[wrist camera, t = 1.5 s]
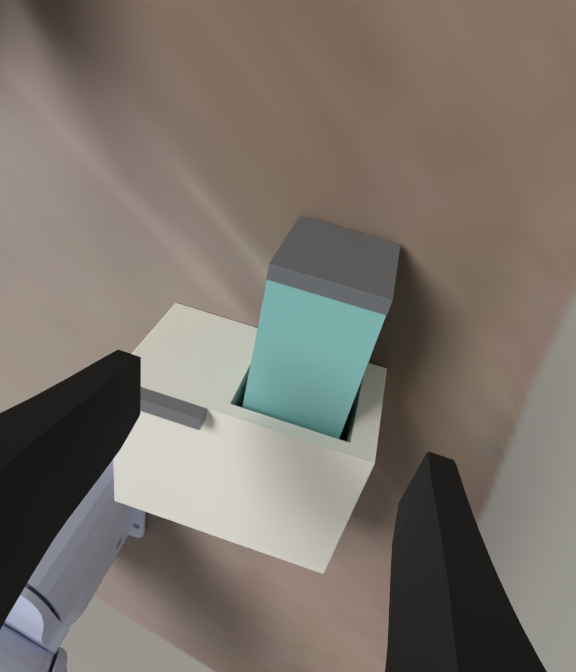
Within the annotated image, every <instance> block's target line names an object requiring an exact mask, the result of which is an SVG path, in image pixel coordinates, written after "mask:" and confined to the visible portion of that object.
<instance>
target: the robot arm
mask: <svg viewBox="0 0 576 672" xmlns="http://www.w3.org/2000/svg"><path fill="white" fill-rule="evenodd" d="M140 401H141V357H139V356H136V355H133V354H130V353H127V352H124V351H121V350H117V351H115V352H113V353H111V354H109V355H107V356H106V357H104V358H102V359H100V360H99V361H97V362H95V363H93V364H92V365H90V366H88V367H86V368H85V369H83V370H81V371H79V372H78V373H76V374H74V375H72V376H71V377H69V378H67V379H65V380H63V381H62V382H60V383H58V384H56V385H54V386H52V387H51V388H49V389H47V390H45V391H43V392H41V393H40V394H38V395H36V396H34V397H32V398H30V399H28V400H26V401H24V402H22V403H20V404H18V405H16V406H14V407H12V408H10V409H8V410H6V411H4V412H2V413H0V672H67V652H66V650H64V649H63V648H61V647H60V645H61V643H62V641H63V640H64V638H65V636H66V634H67V633H68V631H69V627H70V626H71V625H72V624H73V623H74V622H75V621H76V620H77V619H78V618H79V617H80V616H81V615H82V613H83V612H84V611H85V609H86V608H87V606H88V604H89V602H90V601H91V599H92V597H93V595H94V594H95V592H96V590H97V589H98V587H99V585H100V583H101V582H102V580H103V578H104V576H105V575H106V573H107V571H108V569H109V568H110V566H111V564H112V563H113V561H114V559H115V557H116V556H117V554H118V552H119V550H120V549H121V547H122V545H123V543H124V542H125V540H126V538H127V537H128V535H130V536H133V537H136V538H142V537H143V535H144V533H145V518H146V512H145V511H142V510H139V509H137V508H134V507H131V506H128V505H125V504H122V503H119V502H117V501H114V467H113V459H114V457H115V456H116V455H117V453H118V452H119V451H120V449H121V448H122V446H123V444H124V442H125V441H126V439H127V437H128V436H129V434H130V432H131V430H132V429H133V427H134V425H135V423H136V421H137V420H138V418H139V416H140ZM385 672H546V670H545V668H544V666H543V665H542V663H541V661H540V659H539V658H538V656H537V654H536V652H535V650H534V648H533V646H532V645H531V643H530V641H529V639H528V637H527V635H526V633H525V631H524V630H523V628H522V626H521V624H520V622H519V620H518V618H517V616H516V614H515V612H514V610H513V608H512V606H511V603H510V601H509V599H508V597H507V595H506V593H505V591H504V588H503V586H502V584H501V582H500V580H499V577H498V575H497V573H496V571H495V568H494V566H493V564H492V561H491V559H490V556H489V554H488V551H487V549H486V546H485V544H484V542H483V539H482V537H481V534H480V532H479V529H478V526H477V524H476V521H475V518H474V516H473V513H472V510H471V507H470V505H469V502H468V499H467V496H466V493H465V490H464V487H463V484H462V481H461V478H460V475H459V472H458V469H457V466H456V464H455V462H454V460H452V459H449V458H446V457H443V456H440V455H437V454H434V453H431V452H427V454H426V455H425V457H424V459H423V461H422V463H421V464H420V466H419V468H418V470H417V471H416V473H415V475H414V477H413V479H412V480H411V482H410V484H409V486H408V488H407V489H406V491H405V493H404V495H403V496H402V498H401V500H400V502H399V506H398V512H397V518H396V523H395V530H394V536H393V543H392V559H391V581H390V604H389V628H388V647H387V659H386V669H385Z"/></svg>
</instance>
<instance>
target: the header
mask: <svg viewBox="0 0 576 672" xmlns="http://www.w3.org/2000/svg"><path fill="white" fill-rule="evenodd" d="M257 329H258V328H255V327H252V326H249V325H245V324H242V323H239V322H236V321H233V320H229V319H226V318H223V317H220V316H216V315H213V314H210V313H207V312H204V311H200V310H197V309H194V308H191V307H187V306H184V305H181V304H178V303H175V304H174V305H173V306H172V308H171V309H170V310H169V311H168V312H167V313H166V314H165V316H164V317H163V318H162V319H161V320H160V321H159V323H158V324H157V325H156V326H155V327H154V328H153V329H152V331H151V332H150V333H149V334H148V335H147V336H146V337H145V339H144V340H143V341H142V342H141V343H140V344H139V346H138V347H137V348H136V349H135V350H134V351H133V352H132V354H133V355H136V356H139V357H141V401H140V416H139V418H138V420H137V421H136V423H135V425H134V427H133V429H132V430H131V432H130V434H129V436H128V437H127V439H126V441H125V442H124V444H123V446H122V448H121V449H120V451H119V452H118V453H117V455H116V456H115V457H114V459H113V467H114V501H117V502H119V503H122V504H125V505H128V506H131V507H134V508H137V509H139V510H142V511H145V512H148V513H151V514H154V515H156V516H159V517H162V518H165V519H168V520H171V521H174V522H176V523H179V524H182V525H185V526H188V527H191V528H194V529H196V530H199V531H202V532H205V533H208V534H211V535H213V536H216V537H219V538H222V539H225V540H228V541H231V542H233V543H236V544H239V545H242V546H245V547H248V548H251V549H253V550H256V551H259V552H262V553H265V554H268V555H271V556H273V557H276V558H279V559H282V560H285V561H288V562H290V563H293V564H296V565H299V566H302V567H305V568H308V569H310V570H313V571H316V572H319V573H322V574H324V571H325V569H326V567H327V565H328V563H329V561H330V559H331V556H332V554H333V552H334V550H335V548H336V546H337V544H338V541H339V539H340V537H341V535H342V533H343V531H344V529H345V526H346V524H347V522H348V520H349V518H350V516H351V514H352V511H353V509H354V507H355V505H356V503H357V501H358V498H359V496H360V494H361V492H362V490H363V488H364V486H365V483H366V481H367V479H368V477H369V475H370V473H371V471H372V468H373V466H374V464H375V458H376V450H377V443H378V435H379V427H380V419H381V412H382V404H383V396H384V388H385V381H386V373H387V368H384V367H381V366H378V365H374V364H371V363H368V364H367V367H366V370H365V372H364V375H363V378H362V380H361V383H360V385H359V388H358V391H357V393H356V396H355V399H354V401H353V404H352V406H351V409H350V412H349V414H348V417H347V419H346V422H345V425H344V427H343V430H342V433H341V435H340V438H339V439H337V438H334V437H331V436H327V435H324V434H321V433H318V432H315V431H312V430H309V429H306V428H303V427H300V426H297V425H294V424H291V423H288V422H284V421H281V420H278V419H275V418H272V417H269V416H266V415H263V414H260V413H257V412H254V411H251V410H248V409H245V408H242V406H243V401H244V396H245V391H246V385H247V380H248V375H249V370H250V365H251V360H252V355H253V350H254V345H255V339H256V334H257Z"/></svg>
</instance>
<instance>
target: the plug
mask: <svg viewBox="0 0 576 672" xmlns="http://www.w3.org/2000/svg"><path fill="white" fill-rule="evenodd" d="M400 245H401V244H398V243H395V242H391V241H388V240H384V239H381V238H378V237H374V236H371V235H367V234H364V233H360V232H357V231H353V230H350V229H346V228H343V227H339V226H336V225H332V224H329V223H325V222H322V221H318V220H315V219H311V218H308V217H304V216H301V215H300V216H299V218H298V220H297V221H296V223H295V224H294V226H293V227H292V229H291V231H290V232H289V234H288V235H287V237H286V238H285V240H284V242H283V243H282V245H281V246H280V248H279V249H278V251H277V253H276V254H275V256H274V257H273V259H272V260H271V262H270V264H269V269H268V274H267V283H266V288H265V293H264V298H263V304H262V309H261V314H260V319H259V324H258V329H257V334H256V339H255V345H254V350H253V355H252V360H251V365H250V370H249V375H248V380H247V385H246V391H245V396H244V401H243V406H242V408H245V409H248V410H251V411H254V412H257V413H260V414H263V415H266V416H269V417H272V418H275V419H278V420H281V421H284V422H288V423H291V424H294V425H297V426H300V427H303V428H306V429H309V430H312V431H315V432H318V433H321V434H324V435H327V436H331V437H334V438H337V439H339V438H340V435H341V433H342V430H343V427H344V425H345V422H346V419H347V417H348V414H349V412H350V409H351V406H352V404H353V401H354V399H355V396H356V393H357V391H358V388H359V385H360V383H361V380H362V378H363V375H364V372H365V370H366V367H367V364H368V362H369V359H370V357H371V354H372V351H373V349H374V346H375V343H376V341H377V338H378V336H379V333H380V330H381V328H382V325H383V322H384V320H385V317H386V316H387V314H388V311H389V309H390V306H391V304H392V301H393V295H394V288H395V281H396V274H397V267H398V259H399V252H400Z"/></svg>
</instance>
